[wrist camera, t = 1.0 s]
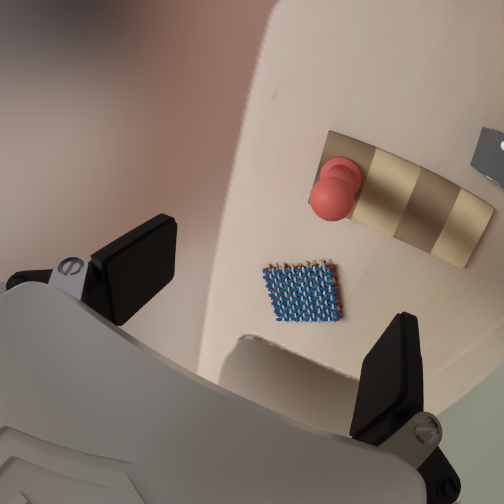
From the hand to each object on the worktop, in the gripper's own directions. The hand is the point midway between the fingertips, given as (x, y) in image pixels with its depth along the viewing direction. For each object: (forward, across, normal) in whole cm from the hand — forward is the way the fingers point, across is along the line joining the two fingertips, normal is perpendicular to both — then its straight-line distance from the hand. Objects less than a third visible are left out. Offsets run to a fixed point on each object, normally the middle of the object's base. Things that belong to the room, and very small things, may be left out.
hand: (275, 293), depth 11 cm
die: (+24, -17, -10) cm, 31 cm away
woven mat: (+26, -1, +18) cm, 31 cm away
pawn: (+23, 0, 0) cm, 23 cm away
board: (+24, -9, 0) cm, 26 cm away
